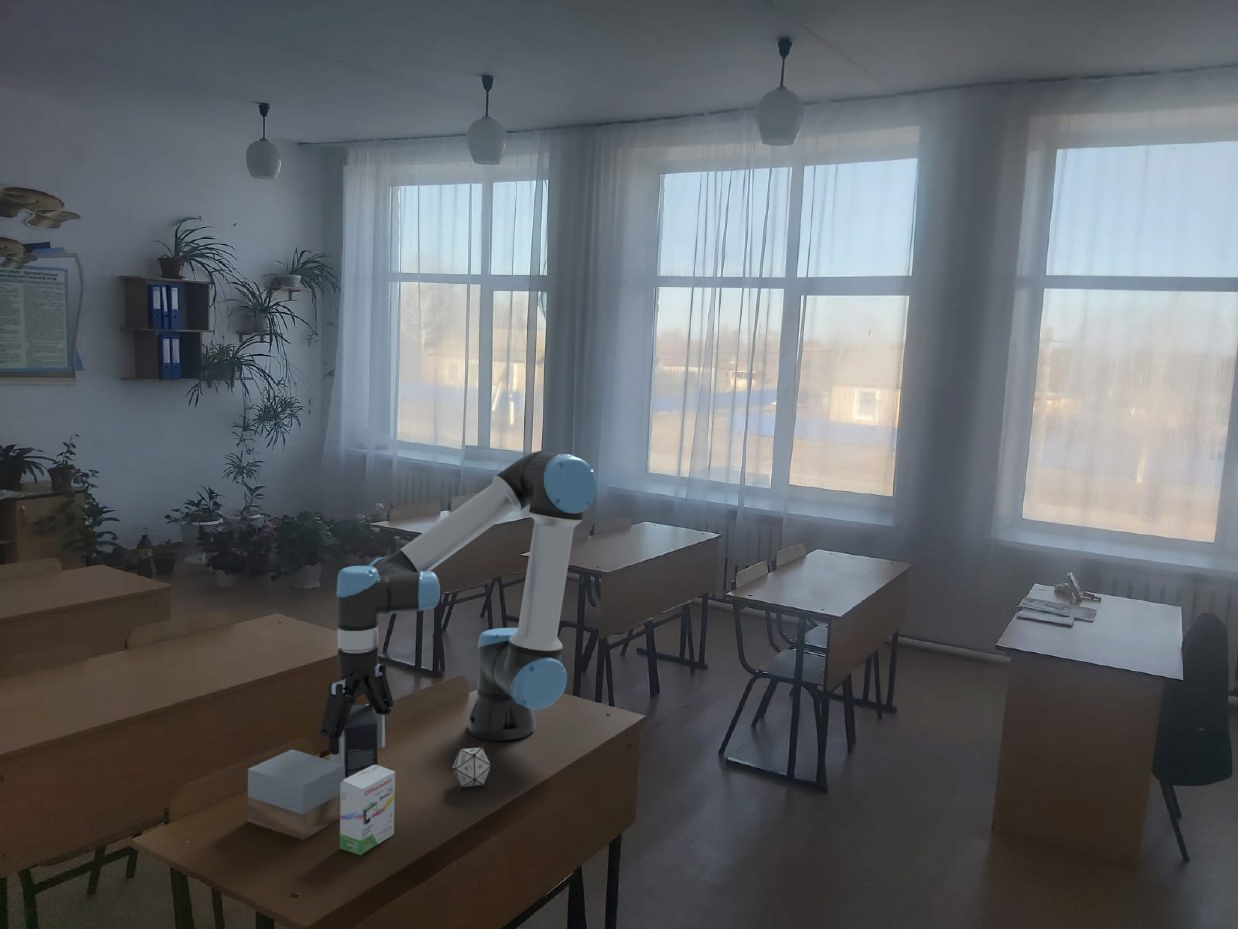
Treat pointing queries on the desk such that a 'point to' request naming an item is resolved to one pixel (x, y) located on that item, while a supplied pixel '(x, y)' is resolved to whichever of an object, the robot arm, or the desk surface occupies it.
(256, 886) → the desk surface
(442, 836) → the desk surface
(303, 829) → the walnut slab
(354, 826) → the ink box
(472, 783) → the game die
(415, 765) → the desk surface
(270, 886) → the desk surface
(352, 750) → the small box
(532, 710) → the robot arm
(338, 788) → the grey slab
